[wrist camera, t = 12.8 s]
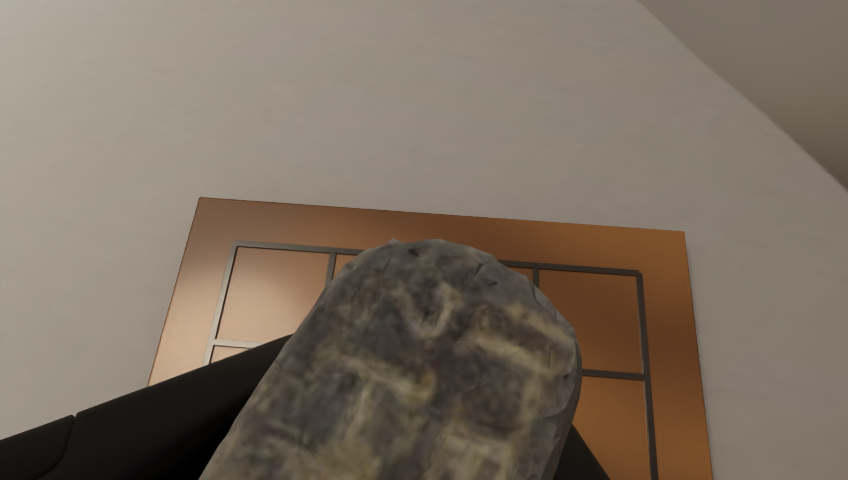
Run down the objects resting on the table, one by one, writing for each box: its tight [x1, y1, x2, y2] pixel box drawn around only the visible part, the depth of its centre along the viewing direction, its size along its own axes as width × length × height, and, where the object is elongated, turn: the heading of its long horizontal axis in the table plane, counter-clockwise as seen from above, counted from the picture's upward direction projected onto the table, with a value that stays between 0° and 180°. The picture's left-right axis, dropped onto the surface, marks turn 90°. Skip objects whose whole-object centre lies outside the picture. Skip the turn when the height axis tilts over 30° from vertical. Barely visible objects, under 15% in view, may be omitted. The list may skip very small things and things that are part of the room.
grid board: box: [147, 197, 713, 480], centre depth 19 cm, size 20×20×1 cm
